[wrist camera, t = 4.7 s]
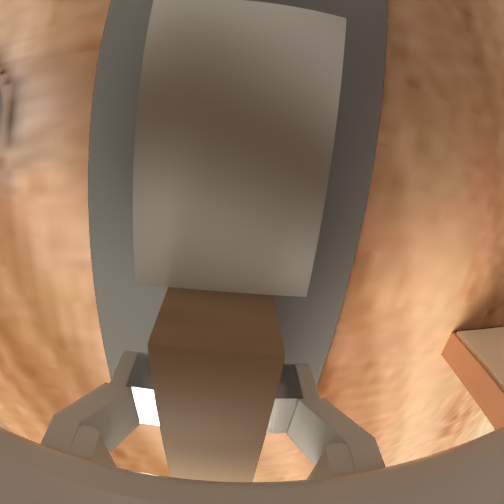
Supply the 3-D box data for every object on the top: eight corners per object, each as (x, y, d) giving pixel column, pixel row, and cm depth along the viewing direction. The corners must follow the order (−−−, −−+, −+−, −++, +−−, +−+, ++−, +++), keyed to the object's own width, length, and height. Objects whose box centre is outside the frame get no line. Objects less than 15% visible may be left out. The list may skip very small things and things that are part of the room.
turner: (267, 434, 12) (273, 492, 10) (159, 427, 12) (149, 484, 9) (339, 24, 6) (389, -18, 4) (158, 7, 6) (122, -45, 3)
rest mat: (131, -39, 7) (125, -47, 6) (379, -14, 8) (386, -20, 7) (121, 395, 15) (117, 405, 14) (301, 410, 15) (303, 420, 15)
